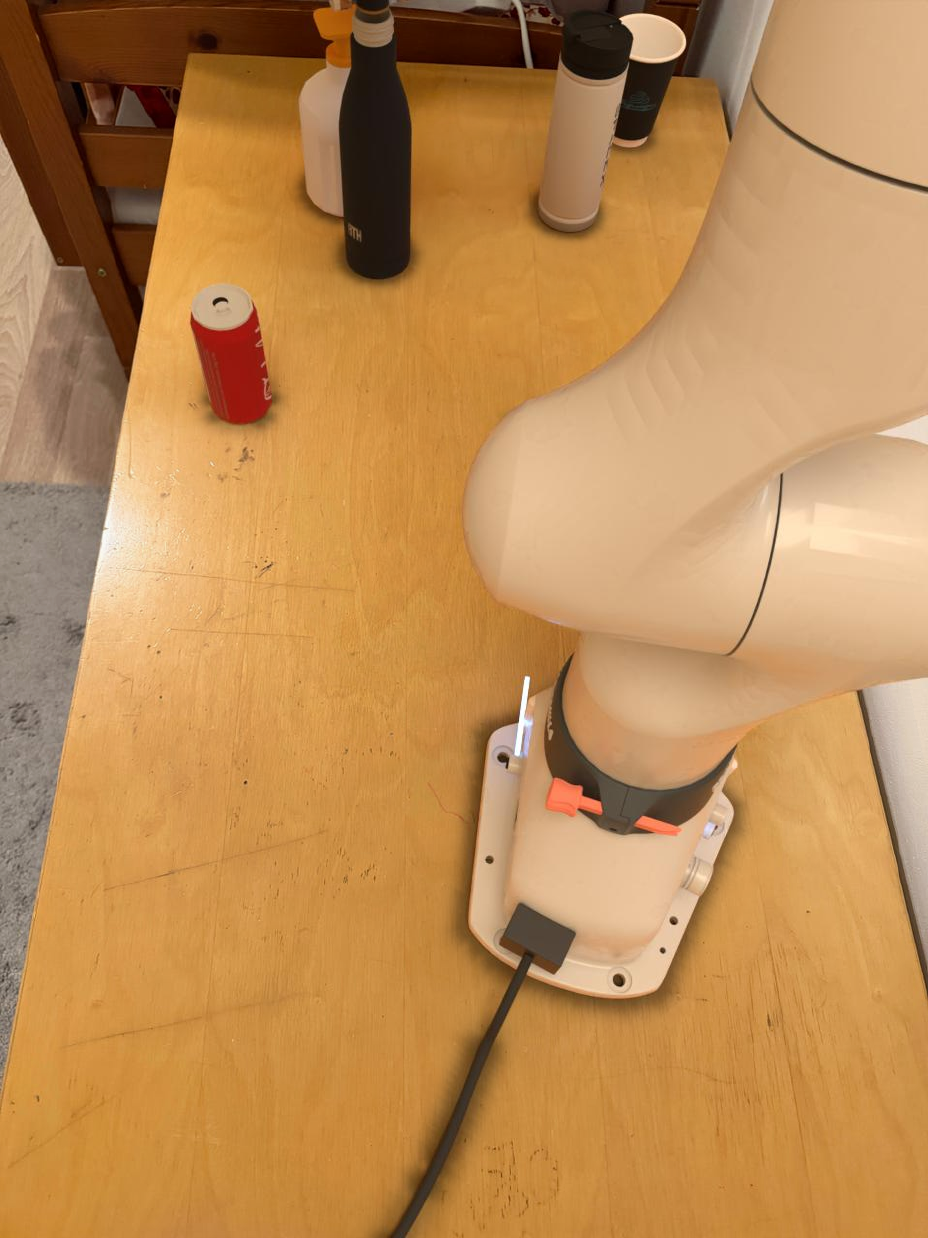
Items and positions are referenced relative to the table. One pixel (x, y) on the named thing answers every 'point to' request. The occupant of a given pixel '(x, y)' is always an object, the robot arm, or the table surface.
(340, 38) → the soap bottle
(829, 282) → the robot arm
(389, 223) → the black insulated water bottle
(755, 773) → the table surface
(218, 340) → the soda can
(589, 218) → the travel mug
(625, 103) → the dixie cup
